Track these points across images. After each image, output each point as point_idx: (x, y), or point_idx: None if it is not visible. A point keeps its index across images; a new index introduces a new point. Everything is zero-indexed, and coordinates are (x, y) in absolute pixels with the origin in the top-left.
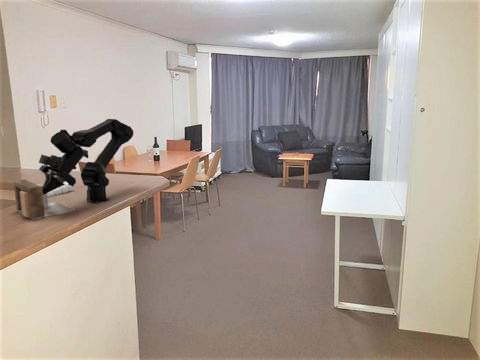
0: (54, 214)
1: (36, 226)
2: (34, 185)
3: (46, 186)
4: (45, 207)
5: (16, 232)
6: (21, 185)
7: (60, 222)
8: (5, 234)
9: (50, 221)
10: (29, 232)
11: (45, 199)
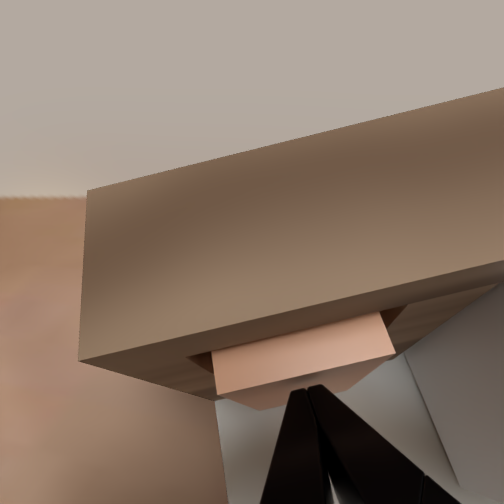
0: (227, 487)
1: (77, 326)
2: (236, 263)
3: (262, 494)
4: (448, 454)
5: (63, 236)
6: (379, 125)
7: (36, 483)
8: (73, 200)
9: (107, 421)
10: (15, 285)
11: (490, 472)
